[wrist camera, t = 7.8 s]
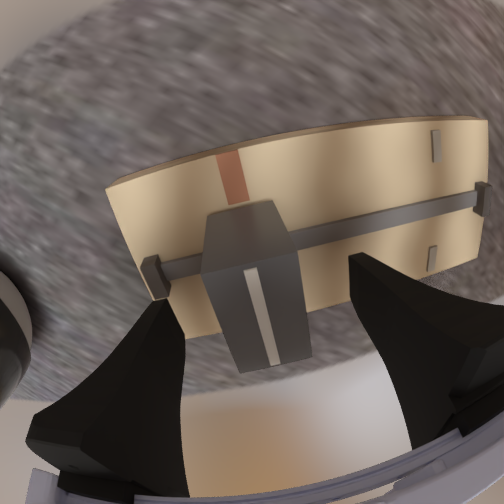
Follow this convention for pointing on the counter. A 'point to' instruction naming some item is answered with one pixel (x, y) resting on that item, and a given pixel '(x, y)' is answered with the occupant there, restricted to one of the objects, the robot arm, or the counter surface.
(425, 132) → the slider panel
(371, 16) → the counter surface
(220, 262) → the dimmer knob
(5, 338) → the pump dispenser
